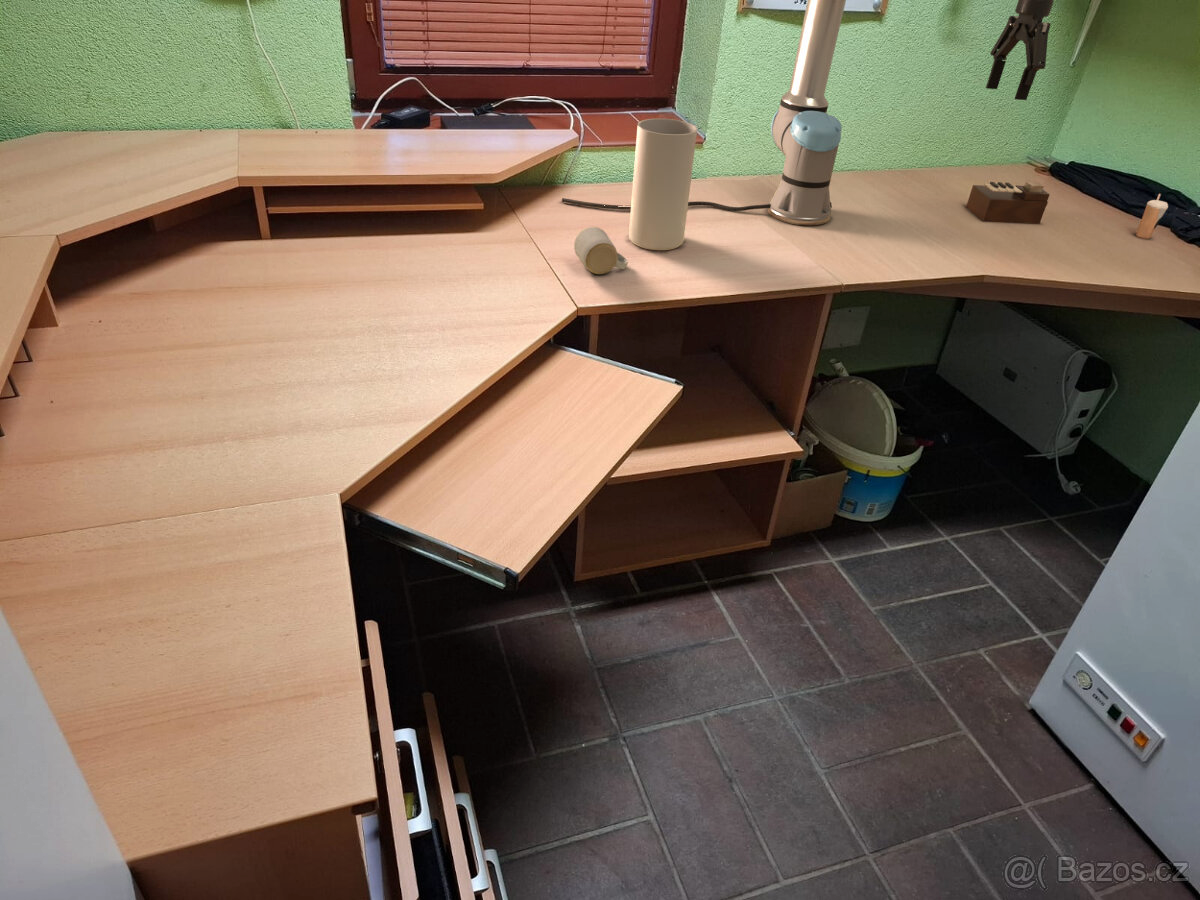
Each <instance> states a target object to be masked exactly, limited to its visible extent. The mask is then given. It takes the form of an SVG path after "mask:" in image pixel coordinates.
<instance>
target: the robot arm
mask: <svg viewBox="0 0 1200 900" xmlns="http://www.w3.org/2000/svg"><path fill="white" fill-rule="evenodd" d="M1054 1H1055V0H1018V1H1017V4H1016V7H1015V10H1014V11H1015V14H1017V16H1016V15H1010V16H1009V17H1008V20H1007V22H1006V25H1005V27H1004V29H1002V32H1001V34H1000V35H999V37H998V39H997V40H996V42H995V44H994V46H993V47H992V49H991V50H990V56H992V57H993V58H992V59H993V63H992V66H991V69H990V73H989V75H988V80H987V83H986V85H985V89H986V90H987V89H990V90H998V87H999V84H1000V81H1001V79H1002V75H1003V72H1004V69H1005V66H1006V63H1007V56H1008V55H1009V54H1010V53H1011V52H1012V50H1013V49H1014V48H1015V47H1016V46H1017V45H1018V44H1019V42H1020V41H1021V42H1023V44H1024V45H1025V55H1026V56H1025V57H1026V66H1025V67H1024V69H1023V72H1022V75H1021V78H1020V81H1019V84H1018V87H1017V90H1016V93H1015V95H1014V100H1018V101H1019V100H1020V101H1027V100H1028V96H1029V93H1030V91H1031V88H1032V85H1033V83H1034V81H1035V78H1036V75H1037V72H1039V70H1044V69H1045V68H1046V66H1047V65H1046V63H1047V52H1048V39H1049V32H1050V29H1051V23H1050V22H1044V21H1043V20H1044V18H1046V17H1049V16H1050V14H1051V11H1052V8H1053V5H1054ZM846 2H847V0H807V1H806V5H805V6H806V7H805V12H804V17H803V21H802V26H801V32H800V35H799V41H798V47H797V50H796V55H795V61H794V65H793V71H792V75H791V81H790V85H789V89H788V91H787V92H785V93H784V94H783V95H782V96H781V98H780V102H779V108H778V109H777V110H776V112H775V113H774V115H773V117H772V119H771V123H770V134H771V138H772V140H773V143H774V145H775V146H776V147H777V149H778V150H779V151H780V152H781V153H782V154H783V155H784V156H785V159H784V165H783V170H782V175H781V180H780V183H779V184H778V186H777V188H776V190H775V192H774V194H773V195H772V198H771V199H770V202H769V203H767V204H753V205H746V206H729V205H725V204H720V203H717V202H712V201H703V200H702V201H701V200H700V201H698V200H697V201H688V207H693V206H707V207H713V208H716V209H721V210H725V211H730V212H731V211H732V212H744V211H751V210H763V209H768V212H767V213H768V214H769V215H770V216H771V217H772V218H774V219H776V220H778V221H780V222H783V223H787V224H791V225H797V226H808V227H809V226H810V227H811V226H820V225H824V224H826V223H828V222H829V221H830V219H831V214H832V209H833V205H832V202H831V194H830V184H831V181H832V176H833V172H834V167H835V162H836V158H837V154H838V151H839V145H840V143H841V140H842V130H843V129H842V128H843V127H842V123H841V121H840V120H839V119H838V118H837V117H836V116H834V115H832V114H829V113H827V112H828V109H829V108H828V107H829V102H828V99H827V98H826V97H825V93H826V90H827V84H828V82H829V81H828V80H829V75H830V72H831V68H832V63H833V57H834V54H835V50H836V47H837V46H836V45H837V41H838V37H839V32H840V29H841V23H842V20H843V16H844V10H845V6H846ZM561 202H562V203H566V204H570V205H571V204H572V205H577V206H584V207H591V208H596V209H597V208H599V209H609V210H624V211H625V210H629V211H631V207H618V206H623V204H622V205H620V204H619V205H618V204H606V203H597V202H588V201H582V200H578V199H571V198H565V197H562V198H561ZM604 205H605V206H604Z"/></svg>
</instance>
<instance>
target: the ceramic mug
mask: <svg viewBox="0 0 1200 900" xmlns="http://www.w3.org/2000/svg"><path fill="white" fill-rule="evenodd" d="M573 249H574V254H575V255H576V257H577V258H578V259H579V260H580V262H581V263H582V264H583V265H584V267H585V269H587V270H588V271H589V272H591V273H592V274H595V275H604V274H607V273H609V272H611V271H612V270H613V269H614V268H616V269H619V270H625V269H626V268H627V266H628V264H629V261H628V260H627V258H626V257H625V256H624V255H622V254H621V253H620V252H618V251H617V249H616V245H614V243H613V242H612V240H611V239H610V236H609V235H608V234H607V232H605V230H603V229H602V228H601V227H597V226H589V227H586V228H584V229H582V230H581V231H580V232H579V233H578V234H577V236H576V238H575V240H574V244H573Z"/></svg>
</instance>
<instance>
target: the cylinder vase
mask: <svg viewBox="0 0 1200 900" xmlns="http://www.w3.org/2000/svg"><path fill="white" fill-rule="evenodd" d="M636 128H637V129H636V141H635V153H634V165H633V167H634V168H633V176H632V177H633V178H632V189H631V190H632V191H631V205H630V206H631V210H630V215H629V226H628V229H629V230H628V239H629V241H630V242H631V243H632V244H633V245H635V246H637V247H639V248H643V249H645V250H652V251H670V250H674V249H677V248H679V247H680V246H681V245H683V243H684V240H685V231H686V225H687V217H688V208H689V206H688V202H690V201H689V200H690V192H691V184H692V177H693V169H694V168H693V167H694V160H695V159H694V158H695V152H696V144H697V143H696V142H697V137H698V136H697V135H698V127H697V126H696V125H695V124H693V123H690V122H687V121H683V120H679V119H672V118H648V119H643V120H640V121H639V122H637V127H636Z"/></svg>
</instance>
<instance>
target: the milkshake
mask: <svg viewBox="0 0 1200 900" xmlns="http://www.w3.org/2000/svg"><path fill="white" fill-rule="evenodd" d="M1161 196H1162V193H1158V195H1157V198H1156V199H1151V200H1149V201H1147V203H1146V205H1145V209H1144V211H1143V214H1142V217H1141V219H1140V222H1139V224H1138V227H1137V231H1136V233H1135V236H1136V237H1138V238H1140V239H1147V240H1149V239H1151V238H1152V236H1153V234H1154V232H1155V230H1156V229H1157V226H1158V225H1159V223H1160V222H1161V220H1162V218H1163V216H1164V215H1165V213H1166V211H1167V210H1168V208H1169V204H1168V202H1167V201H1163V200H1160V198H1161Z"/></svg>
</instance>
